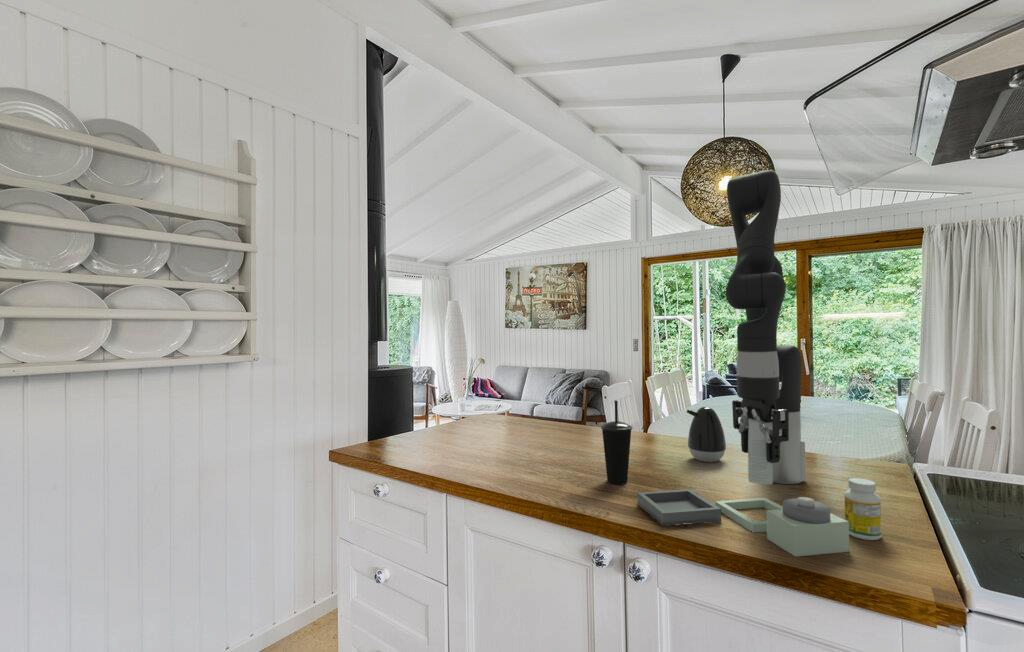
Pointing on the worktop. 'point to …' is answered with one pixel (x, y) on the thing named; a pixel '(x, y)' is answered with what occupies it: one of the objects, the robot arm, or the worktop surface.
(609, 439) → the drinking cup
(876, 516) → the supplement bottle
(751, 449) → the skincare box
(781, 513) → the soap dish box
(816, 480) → the worktop surface
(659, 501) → the tray
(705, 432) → the pump dispenser
